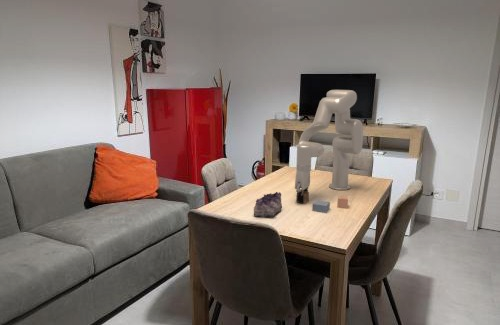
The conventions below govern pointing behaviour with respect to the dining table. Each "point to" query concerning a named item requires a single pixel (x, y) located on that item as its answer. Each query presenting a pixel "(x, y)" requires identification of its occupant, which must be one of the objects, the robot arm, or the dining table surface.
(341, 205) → the terracotta cube
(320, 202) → the blue-grey square box
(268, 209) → the geode
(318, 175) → the dining table surface
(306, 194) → the walnut cube
